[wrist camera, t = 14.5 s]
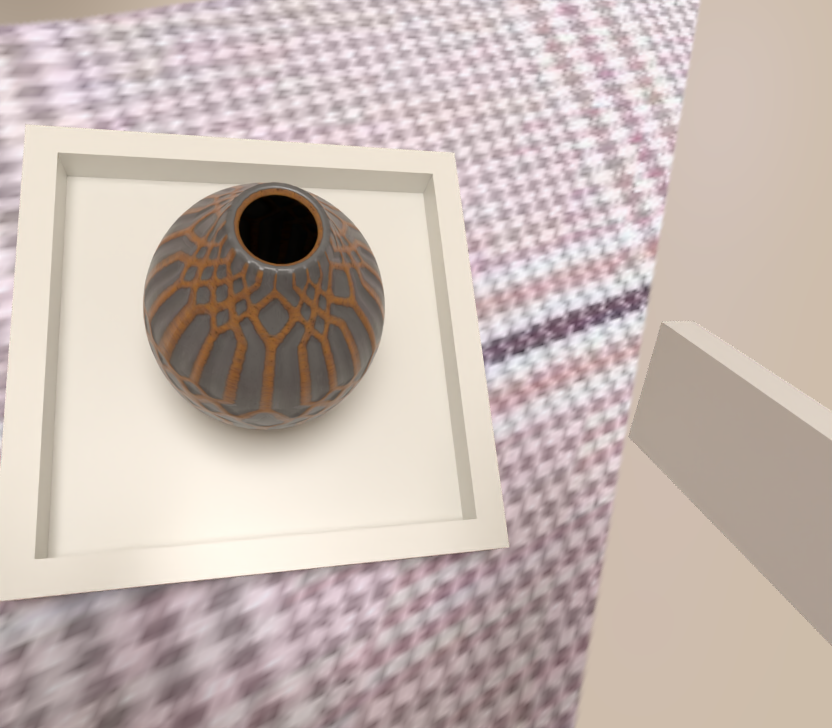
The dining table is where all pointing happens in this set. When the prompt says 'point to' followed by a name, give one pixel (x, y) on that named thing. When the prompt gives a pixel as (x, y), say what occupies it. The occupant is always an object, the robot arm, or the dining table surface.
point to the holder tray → (203, 435)
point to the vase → (263, 306)
